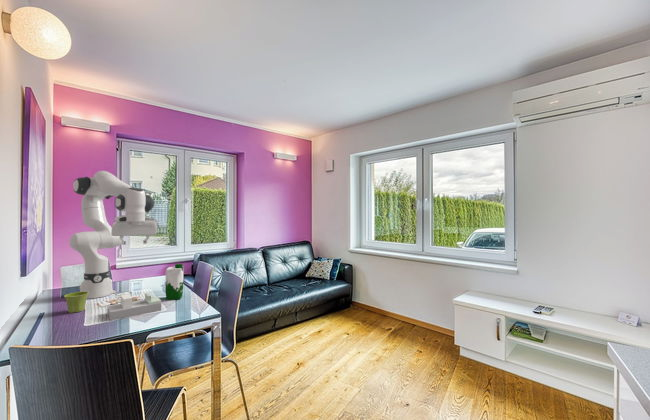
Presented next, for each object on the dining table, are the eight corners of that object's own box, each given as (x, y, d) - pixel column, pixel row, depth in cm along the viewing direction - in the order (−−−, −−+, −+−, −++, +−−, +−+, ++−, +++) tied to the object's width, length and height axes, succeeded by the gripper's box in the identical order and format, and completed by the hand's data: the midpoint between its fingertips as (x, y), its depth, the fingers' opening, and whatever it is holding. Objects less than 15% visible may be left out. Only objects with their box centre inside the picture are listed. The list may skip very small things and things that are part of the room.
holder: (122, 304, 156) (122, 299, 156) (135, 301, 160) (135, 297, 160) (126, 309, 147) (126, 304, 147) (139, 306, 151) (139, 302, 151)
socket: (107, 314, 140) (107, 305, 140) (155, 304, 154) (155, 297, 154) (110, 320, 131) (110, 312, 131) (161, 310, 145) (161, 302, 145)
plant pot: (73, 315, 138) (74, 297, 139) (58, 313, 140) (59, 296, 141) (93, 308, 148) (93, 292, 148) (78, 307, 150) (78, 291, 150)
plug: (120, 308, 142) (120, 295, 143) (129, 307, 145) (129, 294, 145) (123, 313, 136) (123, 299, 136) (132, 311, 138) (132, 297, 138)
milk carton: (181, 299, 163) (181, 265, 164) (163, 301, 161) (164, 266, 161) (184, 295, 172) (184, 262, 172) (167, 297, 169) (167, 263, 169)
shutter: (144, 299, 150) (144, 292, 150) (156, 297, 154) (156, 290, 154) (148, 304, 143) (148, 296, 143) (161, 301, 146) (161, 294, 146)
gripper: (156, 217, 160) (155, 242, 160) (111, 217, 146) (110, 244, 146) (158, 218, 156) (158, 243, 156) (112, 218, 142) (111, 245, 142)
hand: (134, 244), depth 151 cm, fingers open, 8 cm apart
